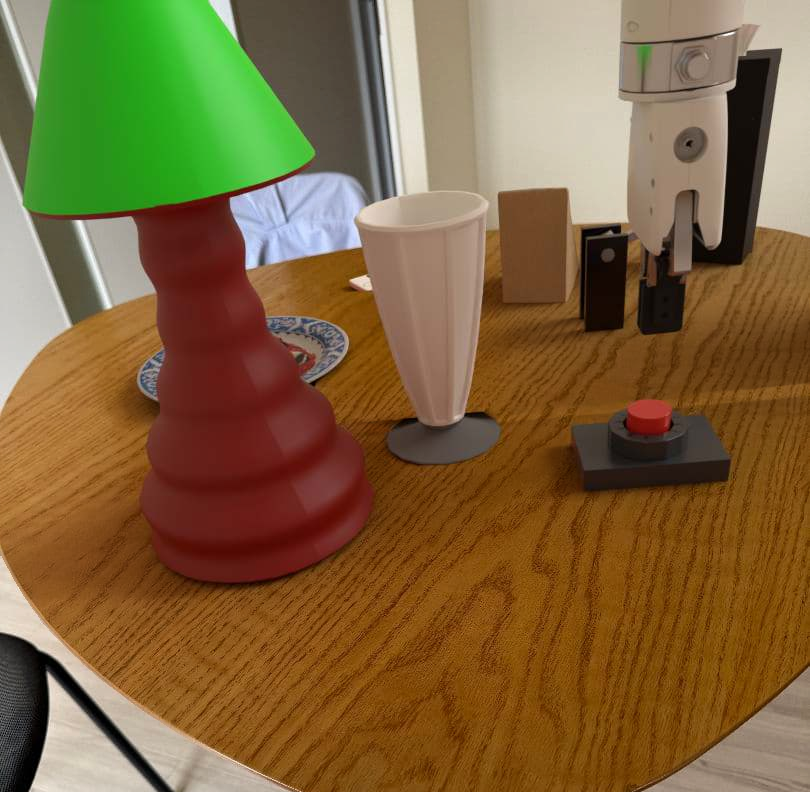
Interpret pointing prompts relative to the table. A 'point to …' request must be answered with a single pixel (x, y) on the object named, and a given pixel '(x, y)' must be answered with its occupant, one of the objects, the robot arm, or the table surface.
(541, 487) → the table surface
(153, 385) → the ceramic plate
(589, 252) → the bracket
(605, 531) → the table surface
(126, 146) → the table lamp
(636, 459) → the control block
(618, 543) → the table surface
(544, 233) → the sandwich container
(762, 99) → the tall black pillar
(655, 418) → the button
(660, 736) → the table surface
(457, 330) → the cup
